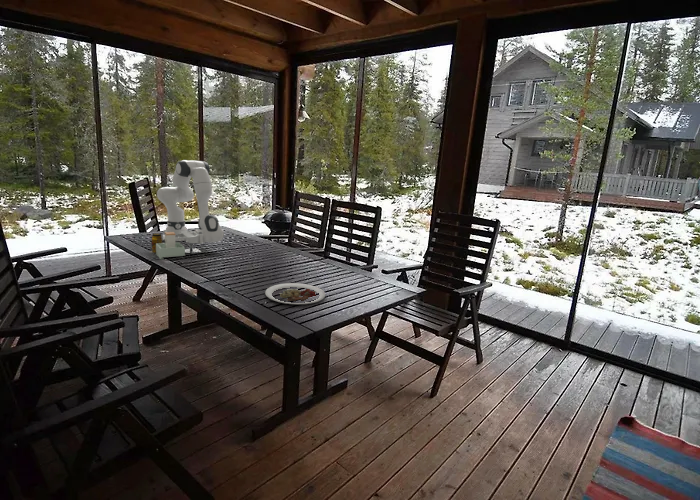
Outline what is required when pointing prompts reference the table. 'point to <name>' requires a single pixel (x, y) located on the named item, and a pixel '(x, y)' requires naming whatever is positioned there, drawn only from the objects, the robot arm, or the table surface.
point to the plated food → (295, 292)
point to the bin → (169, 250)
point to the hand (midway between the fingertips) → (175, 237)
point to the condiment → (155, 241)
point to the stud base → (191, 249)
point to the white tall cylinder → (169, 239)
